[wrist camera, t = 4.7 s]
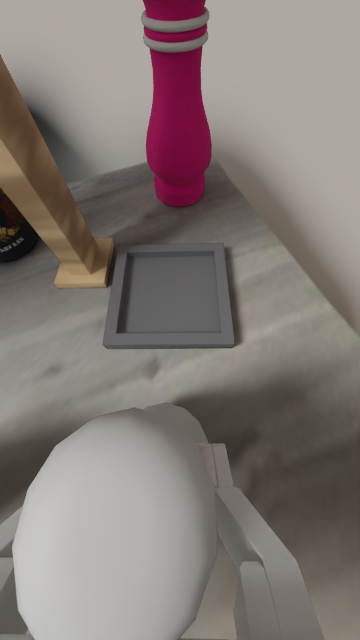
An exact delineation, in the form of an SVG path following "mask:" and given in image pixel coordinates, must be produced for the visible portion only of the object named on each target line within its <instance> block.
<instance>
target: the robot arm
mask: <svg viewBox="0 0 360 640" xmlns="http://www.w3.org/2000/svg"><path fill="white" fill-rule="evenodd" d="M197 444H198V447H199V449H200V452H201V454H202V456H203V459H204V461H205V464H206V466H207V469H208V471H209V473H210V476H211V478H212V481H213V483H214V486H215V499H216V520H217V533H218V535H219V537H220V539H221V541H222V543H223V545H224V546H225V548H226V550H227V552H228V554H229V556H230V558H231V559H232V561H233V563H234V565H235V567H236V569H237V571H238V573H239V576H238V583H237V590H236V596H235V603H234V609H233V611H234V619H235V627H236V635H237V640H325V639H324V636H323V634H322V631H321V628H320V625H319V622H318V619H317V617H316V614H315V611H314V608H313V605H312V602H311V600H310V597H309V594H308V591H307V588H306V585H305V583H304V580H303V577H302V574H301V571H300V569H299V566H298V563H297V561H296V559H295V558H294V557H293V556H292V554H291V553H290V552H289V551H288V549H287V548H286V547H285V546H284V544H283V543H282V542H281V541H280V539H279V538H278V537H277V535H276V534H275V533H274V532H273V530H272V529H271V528H270V527H269V525H268V524H267V523H266V522H265V520H264V519H263V518H262V517H261V515H260V514H259V513H258V512H257V510H256V509H255V508H254V507H253V505H252V504H251V503H250V502H249V500H248V499H247V498H246V497H245V495H244V494H243V493H242V492H241V490H240V489H239V488H238V487H234V485H233V480H232V475H231V470H230V465H229V460H228V455H227V451H226V446H225V444H211V443H197ZM22 508H23V506H22V507H21V508H19V509H18V510H17V511H16V512H15V513H13V514H12V515H11V516H10V517H9V518H8V519H6V520H5V521H4V522H3V523H2V524H0V640H34V638H33V636H32V635H25V634H26V632H27V629H28V627H27V625H26V623H25V622H24V620H23V618H22V616H21V614H20V613H19V611H18V605H17V595H16V584H15V573H14V563H13V552H12V546H13V542H14V538H15V534H16V531H17V527H18V523H19V520H20V516H21V512H22ZM178 640H226V639H185V638H179V639H178Z"/></svg>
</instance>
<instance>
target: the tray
mask: <svg viewBox="0 0 360 640" xmlns="http://www.w3.org/2000/svg"><path fill="white" fill-rule="evenodd" d="M234 344H235V343H234V334H233V325H232V316H231V307H230V298H229V290H228V281H227V272H226V263H225V254H224V245H223V243H201V244H149V245H118V251H117V257H116V264H115V270H114V276H113V282H112V288H111V295H110V301H109V307H108V313H107V320H106V326H105V332H104V338H103V344H102V345H103V346H104V347H105V348H107V349H184V348H232V347H233V345H234Z"/></svg>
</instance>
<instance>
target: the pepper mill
mask: <svg viewBox="0 0 360 640" xmlns="http://www.w3.org/2000/svg"><path fill="white" fill-rule="evenodd" d="M205 1H206V0H143V2H144V5H145V8H146V10H145V11H144V12H143V13H142V16H141V21H142V24H143V25H144V32H145V34H144V37H143V39H144V43H145V44H146V45H147V46H148V47H149V48H150V54H151V60H152V67H153V83H154V92H153V104H152V110H151V116H150V121H149V126H148V131H147V140H146V153H147V161H148V164H149V166H150V168H151V170H152V171H153V172H154V173H155V174H156V175H155V178H154V182H155V189H156V195H157V197H158V198H159V199H160V201H162V202H163V203H165V204H167V205H170V206H175V207H184V206H188V205H191V204H194V203H195V202H197V201H198V200H200V198H201V197H202V196H203V193H204V185H205V175H204V172H205V170H206V169H207V167H208V166H209V163H210V160H211V146H212V145H211V137H210V130H209V126H208V122H207V118H206V115H205V111H204V106H203V101H202V94H201V68H200V67H201V55H202V45H204V43H205V42H206V41H207V39H208V32H207V21H208V19H209V11H208V10H207V8H206V7H204V5H205Z"/></svg>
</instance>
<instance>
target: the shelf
mask: <svg viewBox="0 0 360 640" xmlns="http://www.w3.org/2000/svg"><path fill="white" fill-rule="evenodd" d="M0 187H1V188H2V190H3V191H4V192H5V193H6V195H7V196H8V197H9V198H10V200H11V201H12V202H13V203H14V205H15V206H16V207H17V208H18V210H19V211H20V212H21V213H22V215H23V216H24V217H25V218H26V220H27V221H28V222H29V223H30V225H31V226H32V227H33V228H34V230H35V231H36V232H37V233H38V235H39V236H40V237H41V238H42V240H43V241H44V242H45V243H46V245H47V246H48V247H49V248H50V250H51V251H52V252H53V253H54V255H55V256H56V257H57V258H58V260H59V261H60V265H59V268H58V272H57V275H56V278H55V282H54V284H55V285H56V286H57V287H58V288H107V283H108V277H109V271H110V266H111V260H112V254H113V248H114V241H113V238H93V236H92V234H91V232H90V230H89V228H88V226H87V224H86V222H85V220H84V218H83V216H82V214H81V212H80V210H79V208H78V206H77V204H76V202H75V200H74V198H73V196H72V194H71V192H70V190H69V189H68V187H67V185H66V183H65V181H64V179H63V177H62V175H61V173H60V171H59V169H58V167H57V165H56V163H55V161H54V159H53V157H52V155H51V154H50V151H49V149H48V147H47V146H46V143H45V142H44V140H43V138H42V136H41V134H40V132H39V130H38V128H37V126H36V124H35V122H34V120H33V118H32V116H31V114H30V112H29V110H28V108H27V106H26V104H25V102H24V100H23V98H22V97H21V94H20V93H19V91H18V89H17V87H16V85H15V83H14V81H13V79H12V77H11V75H10V73H9V71H8V69H7V67H6V65H5V63H4V61H3V59H2V57H1V55H0Z"/></svg>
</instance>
